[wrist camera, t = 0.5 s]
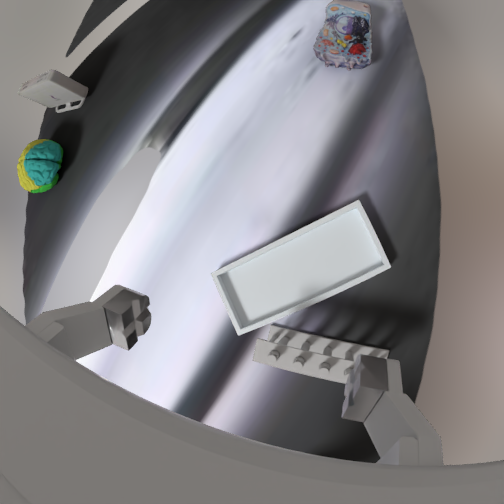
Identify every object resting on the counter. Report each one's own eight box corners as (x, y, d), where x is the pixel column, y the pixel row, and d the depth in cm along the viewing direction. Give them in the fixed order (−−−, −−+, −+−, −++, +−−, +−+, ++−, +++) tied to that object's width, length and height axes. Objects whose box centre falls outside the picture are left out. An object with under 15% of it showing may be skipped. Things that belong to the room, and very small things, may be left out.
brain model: (77, 137, 79) (43, 125, 65) (66, 194, 79) (29, 187, 65) (45, 147, 87) (15, 138, 73) (36, 196, 87) (4, 190, 73)
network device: (51, 114, 86) (14, 99, 67) (58, 95, 86) (23, 78, 67) (87, 106, 79) (45, 85, 60) (96, 84, 79) (56, 61, 60)
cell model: (373, -3, 43) (373, 54, 44) (373, 24, 53) (370, 81, 54) (318, -9, 46) (308, 46, 48) (323, 18, 57) (314, 73, 58)
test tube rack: (388, 349, 53) (400, 373, 40) (382, 369, 53) (391, 397, 40) (271, 324, 60) (252, 341, 47) (267, 344, 60) (248, 365, 47)
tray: (389, 266, 53) (391, 267, 51) (242, 332, 62) (238, 335, 59) (358, 202, 55) (358, 199, 53) (215, 272, 64) (210, 273, 61)
